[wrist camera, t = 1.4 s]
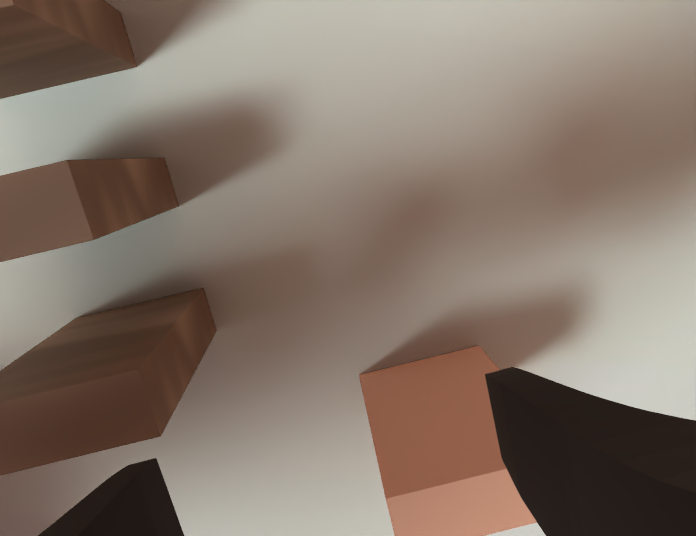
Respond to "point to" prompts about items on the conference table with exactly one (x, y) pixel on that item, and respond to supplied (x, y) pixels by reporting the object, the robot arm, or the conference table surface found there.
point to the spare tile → (441, 447)
